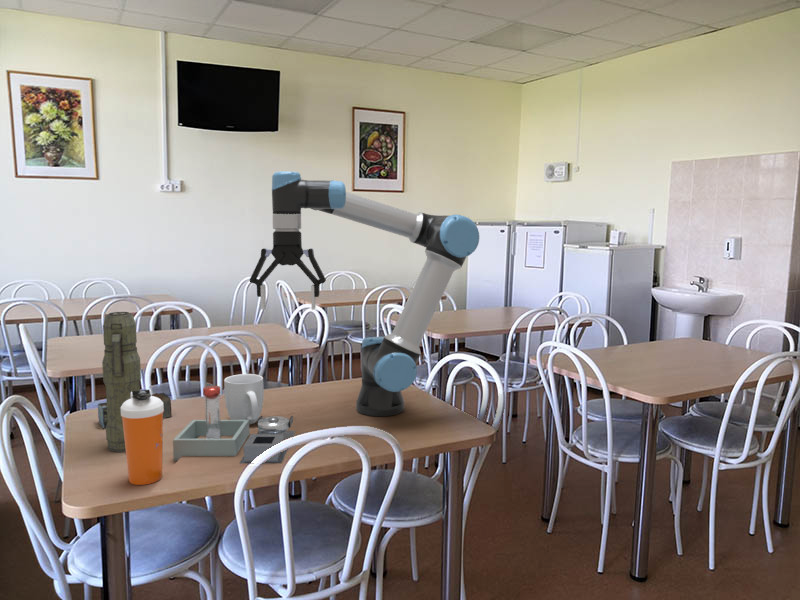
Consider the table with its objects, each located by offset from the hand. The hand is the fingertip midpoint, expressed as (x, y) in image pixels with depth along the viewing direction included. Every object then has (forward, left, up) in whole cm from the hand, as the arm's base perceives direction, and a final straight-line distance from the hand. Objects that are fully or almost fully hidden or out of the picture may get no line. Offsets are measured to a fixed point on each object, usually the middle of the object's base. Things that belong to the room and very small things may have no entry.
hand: (288, 309), depth 163 cm
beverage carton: (+47, -10, -35) cm, 60 cm away
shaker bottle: (+28, +31, -35) cm, 54 cm away
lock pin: (+17, +14, -34) cm, 41 cm away
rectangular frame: (+18, +14, -35) cm, 41 cm away
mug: (+14, -7, -35) cm, 38 cm away
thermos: (+41, +11, -35) cm, 55 cm away
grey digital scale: (+3, +15, -35) cm, 38 cm away
